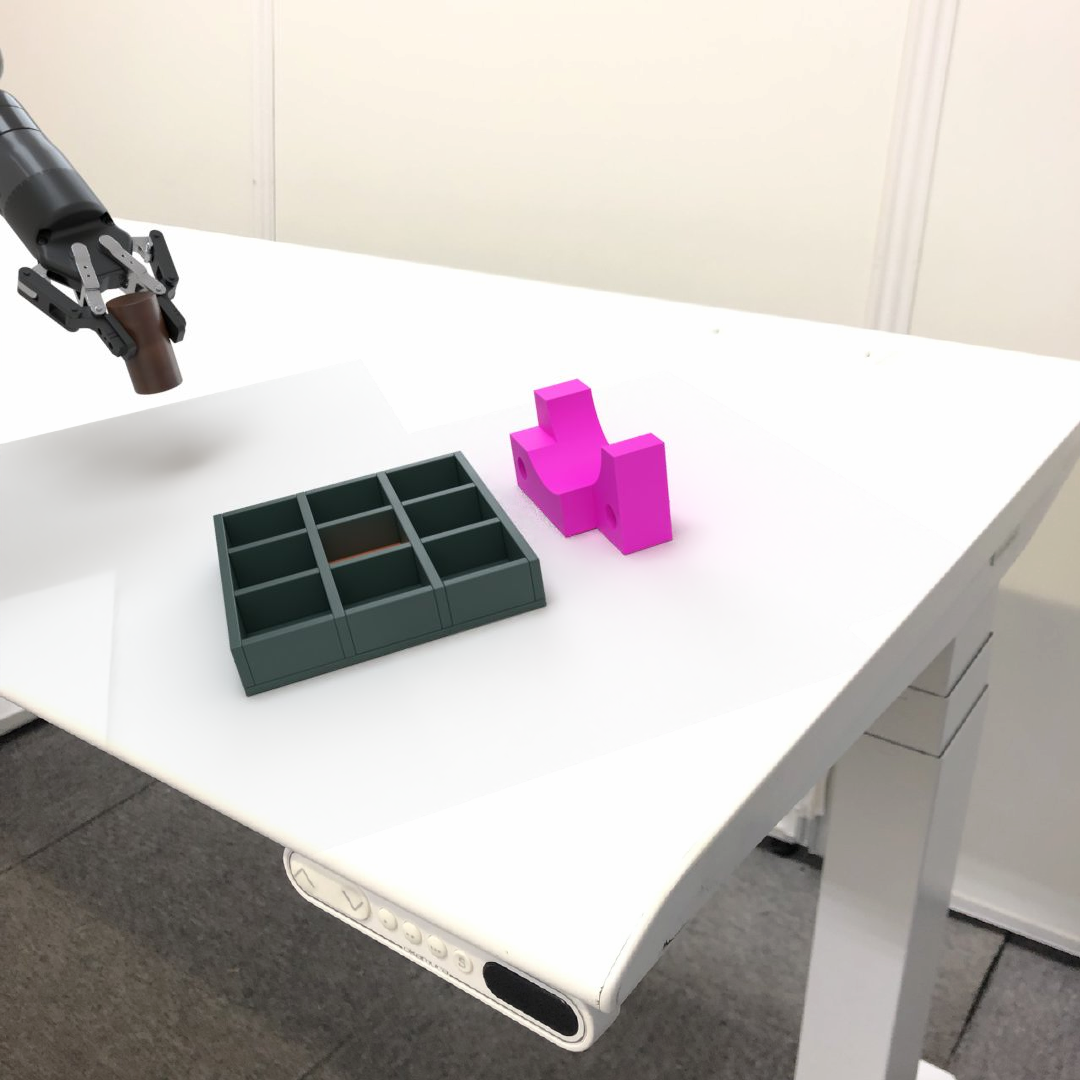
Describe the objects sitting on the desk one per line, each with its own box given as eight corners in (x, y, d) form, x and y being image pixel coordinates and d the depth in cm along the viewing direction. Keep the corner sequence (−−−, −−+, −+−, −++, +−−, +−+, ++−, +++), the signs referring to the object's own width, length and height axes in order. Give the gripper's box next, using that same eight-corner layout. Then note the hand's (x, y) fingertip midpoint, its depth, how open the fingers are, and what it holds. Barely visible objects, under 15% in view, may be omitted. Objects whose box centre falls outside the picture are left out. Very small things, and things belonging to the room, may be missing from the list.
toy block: (517, 484, 84) (503, 398, 80) (588, 463, 85) (577, 378, 81) (591, 565, 71) (578, 467, 67) (672, 539, 73) (664, 442, 69)
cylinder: (134, 398, 90) (104, 309, 86) (135, 384, 94) (105, 298, 90) (183, 387, 91) (155, 298, 87) (182, 373, 94) (155, 287, 91)
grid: (246, 697, 63) (229, 649, 61) (226, 556, 80) (212, 515, 78) (547, 605, 67) (539, 558, 66) (468, 490, 84) (460, 450, 82)
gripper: (-38, 185, 83) (84, 346, 82) (121, 149, 92) (234, 293, 91) (-38, 247, 89) (76, 399, 88) (111, 207, 98) (218, 344, 96)
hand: (156, 344), depth 89 cm, fingers closed on cylinder, 4 cm apart
